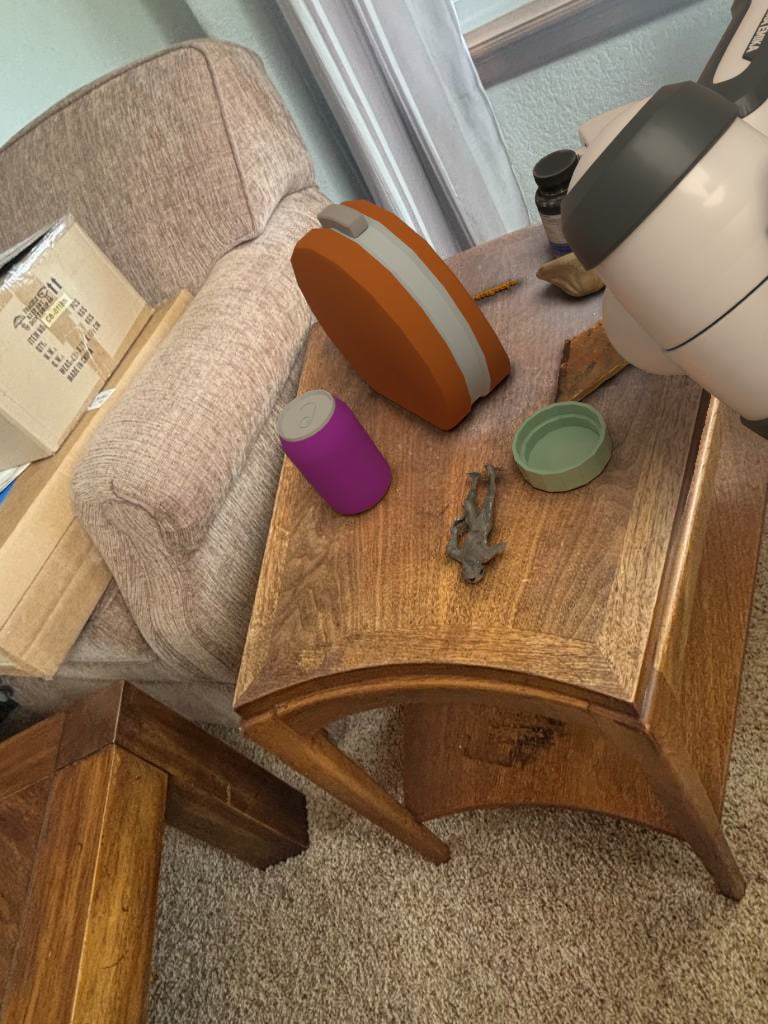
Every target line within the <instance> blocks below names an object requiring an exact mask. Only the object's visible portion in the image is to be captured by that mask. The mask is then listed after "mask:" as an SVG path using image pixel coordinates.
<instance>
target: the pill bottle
mask: <svg viewBox="0 0 768 1024" xmlns="http://www.w3.org/2000/svg"><path fill="white" fill-rule="evenodd" d="M578 163H579V161H578V158H577V155H576V153H575V151H574V150H573V149H570V148H563V149H558V150H554V151H552V152H550V153H548V154H547V155H544V156H543V157H542V158H540V160H538V161H537V162H536V163H535V164H534V166H533V168H532V176H533V179H534V183H535V184H536V186H537V188H536V191H535V193H534V204H535V207H536V209H537V211H538V215H539V217H540V220H541V223H542V225H543V228H544V231H545V235H546V237H547V240H548V244H549V246H550V248H551V252H552V255H553V257H554V260H555V259H557V258H559V257H562V256H564V255H567V254H569V253H572V252H573V251H572V250H571V248H570V246H569V245H568V243H567V241H566V239H565V237H564V235H563V233H562V231H561V202H562V201H563V199H564V198H565V197H566V195H567V192H568V188H569V184H570V181H571V179H572V176H573V173H574V171H575V169H576V167H577V165H578Z"/></svg>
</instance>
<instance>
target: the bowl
mask: <svg viewBox="0 0 768 1024" xmlns="http://www.w3.org/2000/svg"><path fill="white" fill-rule="evenodd" d="M612 450H613V441H612V438H611V435H610V433H609V430H608V426H607V423H606V422H605V419H604V417H603V415H602V412H600V411H599V410H598V409H596V408H595V407H593V406H592V405H591V404H590V403H585V402H580V401H578V402H576V401H568V402H559V403H554V402H553V403H552V404H549V405H546V406H544V407H542V408H539V409H537V410H536V411H534V412H533V413H532V414H530V415H529V416H528V417H527V418H525V419H524V420H523V421H522V423H521V424H520V425H519V427H518V428H517V429H516V431H515V432H514V435H513V439H512V444H511V452H512V456H513V458H514V462H515V464H516V465H517V467H518V469H519V471H520V473H521V475H522V477H523V478H524V480H526V481H527V482H528V483H529V484H530V485H531V486H532V487H533V488H536V489H538V490H542V491H545V492H548V493H552V492H567V491H570V490H573V489H576V488H579V487H582V486H585V485H587V484H589V482H591V481H592V480H594V479H595V478H596V477H598V476H599V475H600V474H601V473H602V472H603V470H604V469H605V467H606V466H607V464H608V463H609V461H610V460H611V457H612Z"/></svg>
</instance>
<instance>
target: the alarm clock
mask: <svg viewBox="0 0 768 1024" xmlns="http://www.w3.org/2000/svg"><path fill="white" fill-rule="evenodd" d="M316 219H317V221H318V222H319V224H320V227H317V228H310V230H309V231H308V232H306V233H305V235H303V236H302V237H301V238H300V239H299V240H298V241H297V242H296V243H295V245H294V248H293V249H292V253H291V256H290V260H289V261H290V265H291V267H292V271H293V274H294V277H295V281H296V284H297V286H298V288H299V290H300V292H301V294H302V295H303V298H304V299H305V302H306V304H307V305H308V308H309V309H310V311H311V313H312V314H313V316H314V317H315V319H316V320H317V322H318V324H319V325H320V327H321V328H322V329H323V331H324V333H325V335H326V336H327V337H328V338H329V339H330V341H331V343H333V345H334V346H335V347H336V349H337V350H338V351H339V353H340V354H341V355H342V357H343V358H344V359H345V360H346V361H347V363H348V364H349V365H350V366H351V367H352V368H353V370H354V371H355V372H356V373H357V374H358V375H359V376H360V377H361V379H363V380H364V382H366V384H367V385H369V386H370V387H371V388H372V389H373V390H374V392H376V393H378V394H380V395H381V396H383V397H384V398H386V399H388V400H389V401H391V402H393V403H395V404H397V405H399V406H400V407H402V408H404V409H405V410H407V411H409V412H411V413H412V414H414V415H416V416H418V417H419V418H421V419H423V420H424V421H426V422H428V423H430V424H432V425H433V426H435V427H436V428H439V429H440V430H442V431H449V430H451V429H453V428H455V427H456V426H457V425H458V424H459V423H460V422H461V421H462V420H463V419H464V418H465V417H466V416H467V415H468V414H469V413H470V412H471V409H472V405H473V404H474V403H475V402H476V401H477V400H478V399H479V398H481V397H482V398H483V397H486V396H487V395H488V394H489V393H491V392H492V391H493V390H494V389H495V387H497V386H498V385H499V384H500V383H501V382H502V380H504V379H505V378H506V377H507V376H508V375H509V374H510V372H511V370H512V367H511V361H510V358H509V355H508V353H507V351H506V349H505V348H504V345H503V344H502V342H501V340H500V338H499V337H498V335H497V333H496V331H495V330H494V328H493V327H492V325H491V324H490V322H489V321H488V319H487V317H486V315H485V314H484V312H483V311H482V309H481V308H480V306H479V305H478V304H477V303H476V300H475V299H474V300H473V298H472V297H473V296H471V294H470V293H469V291H468V290H467V288H466V287H465V286H464V285H463V283H462V282H461V281H460V279H459V278H458V277H457V275H456V273H454V272H453V270H452V269H451V268H450V267H449V266H448V265H447V263H446V262H445V261H444V259H442V258H441V256H440V255H439V254H438V252H437V251H436V250H435V249H434V247H432V245H431V244H430V243H429V242H428V241H427V240H426V239H425V238H424V237H423V236H421V234H419V233H418V232H417V231H415V230H414V229H413V228H412V227H411V226H410V225H408V224H407V223H406V222H405V221H404V220H402V219H401V217H399V216H398V215H397V214H395V213H393V212H392V211H389V210H388V209H385V208H383V207H381V206H379V205H377V204H375V203H373V202H371V201H369V200H367V199H364V198H363V199H354V200H353V199H352V200H344V201H341V202H340V203H339V204H338V203H331V204H328V205H326V207H325V208H323V209H322V210H321V211H320V212H319V213H318V214H317V215H316Z"/></svg>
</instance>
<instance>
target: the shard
mask: <svg viewBox="0 0 768 1024" xmlns="http://www.w3.org/2000/svg"><path fill="white" fill-rule="evenodd" d="M561 355H562V357H561V359H560V364H559V368H558V372H557V379H556V386H555V387H556V388H555V398H554V401H553V404H554V403H559V402H568V401H576V402H580V401H581V400H583V399H584V398H586V397H587V396H589V395H590V394H591V393H592V392H594V391H595V390H596V389H598V387H600V386H601V385H602V384H603V383H605V382H606V381H607V380H609V379H610V378H613V376H615V375H617V373H619V371H621V370H623V368H626V367H627V366H628V365H629V364H630V363H629V362H628V361H626V360H625V359H624V358H623V357H622V356H621V355H620V354H619V353H618V352H617V351H616V350H615V349H614V347H613V346H612V344H611V343H610V341H609V339H608V337H607V335H606V332H605V329H604V326H603V321H602V318H600V319H598V320H596V321H595V322H594V323H593V324H591V325H590V326H589V327H587V328H586V329H584V330H583V331H581V332H579V333H577V334H576V335H574V336H573V337H571V338H567V339H564V344H563V349H562V353H561Z"/></svg>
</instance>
